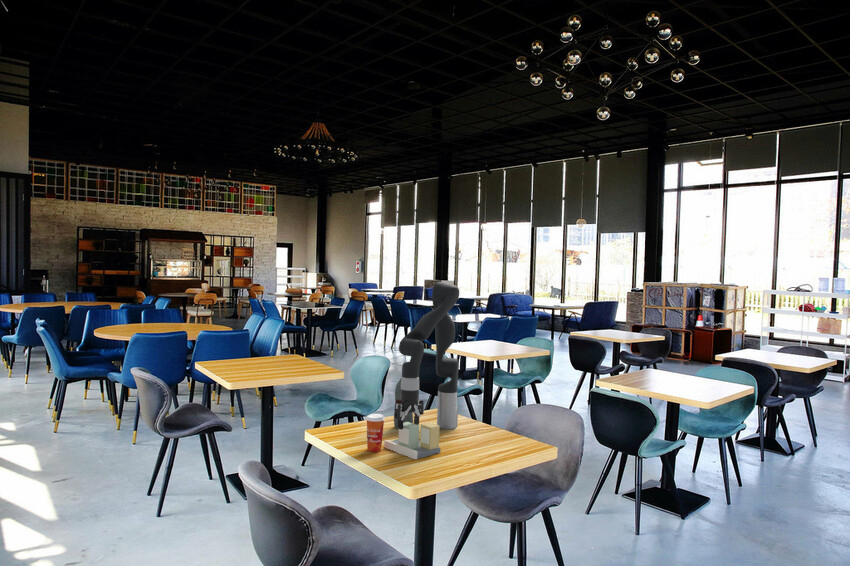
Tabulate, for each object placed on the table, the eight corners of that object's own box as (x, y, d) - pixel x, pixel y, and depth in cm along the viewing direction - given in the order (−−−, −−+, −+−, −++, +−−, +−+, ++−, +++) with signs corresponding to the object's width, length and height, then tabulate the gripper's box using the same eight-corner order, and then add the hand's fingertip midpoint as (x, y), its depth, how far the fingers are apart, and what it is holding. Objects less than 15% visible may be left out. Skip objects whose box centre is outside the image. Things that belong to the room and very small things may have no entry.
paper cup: (361, 451, 218) (362, 416, 218) (369, 446, 225) (371, 412, 225) (379, 454, 215) (380, 419, 215) (387, 448, 222) (388, 414, 222)
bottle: (417, 428, 254) (419, 365, 254) (403, 432, 248) (406, 367, 248) (402, 424, 261) (405, 362, 261) (389, 427, 254) (391, 364, 254)
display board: (408, 441, 234) (409, 434, 234) (440, 452, 220) (440, 445, 220) (384, 447, 224) (384, 440, 224) (415, 459, 210) (415, 451, 210)
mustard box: (428, 444, 224) (429, 422, 224) (438, 447, 220) (439, 425, 220) (419, 446, 221) (420, 424, 221) (429, 450, 216) (430, 427, 216)
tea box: (406, 443, 224) (407, 421, 224) (418, 447, 219) (419, 425, 219) (397, 445, 220) (398, 423, 220) (409, 450, 215) (409, 427, 215)
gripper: (403, 391, 212) (401, 432, 212) (428, 387, 222) (427, 426, 222) (390, 388, 218) (389, 428, 218) (416, 384, 227) (415, 422, 228)
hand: (408, 427), depth 220 cm, fingers open, 8 cm apart
